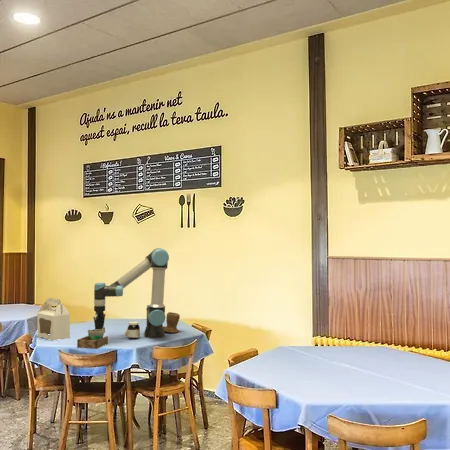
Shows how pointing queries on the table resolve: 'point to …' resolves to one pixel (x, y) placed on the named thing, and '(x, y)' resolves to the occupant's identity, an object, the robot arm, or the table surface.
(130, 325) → the spread jar
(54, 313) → the gable box
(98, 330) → the food container
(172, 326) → the brown ankle boot
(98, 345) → the walnut pen
